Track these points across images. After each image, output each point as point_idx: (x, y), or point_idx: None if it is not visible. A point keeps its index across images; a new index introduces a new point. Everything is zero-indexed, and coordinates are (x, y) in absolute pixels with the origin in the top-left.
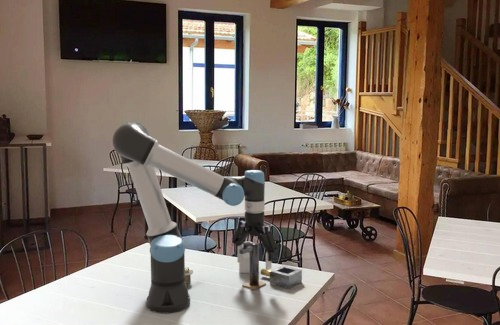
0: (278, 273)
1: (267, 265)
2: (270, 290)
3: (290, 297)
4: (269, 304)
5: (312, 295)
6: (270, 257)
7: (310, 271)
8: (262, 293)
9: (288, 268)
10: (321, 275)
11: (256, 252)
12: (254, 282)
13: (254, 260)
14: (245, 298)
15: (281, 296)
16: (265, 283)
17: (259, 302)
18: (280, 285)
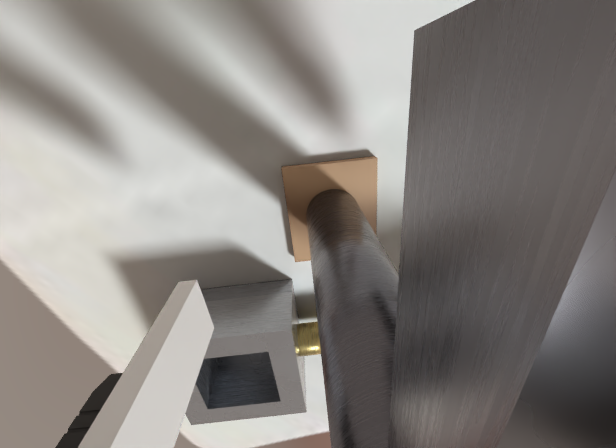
0: (226, 336)
1: (161, 316)
2: (220, 222)
3: (78, 226)
4: (31, 55)
5: (53, 307)
6: (74, 431)
7: (271, 433)
8: (213, 161)
9: (252, 403)
10: (217, 433)
11: (336, 431)
12: (314, 205)
13: (334, 309)
14: (214, 7)
15: (115, 204)
16: (295, 259)
17: (96, 28)
18: (227, 289)
